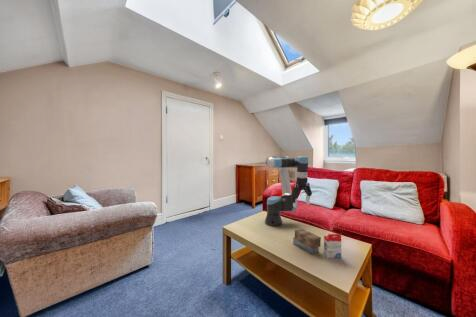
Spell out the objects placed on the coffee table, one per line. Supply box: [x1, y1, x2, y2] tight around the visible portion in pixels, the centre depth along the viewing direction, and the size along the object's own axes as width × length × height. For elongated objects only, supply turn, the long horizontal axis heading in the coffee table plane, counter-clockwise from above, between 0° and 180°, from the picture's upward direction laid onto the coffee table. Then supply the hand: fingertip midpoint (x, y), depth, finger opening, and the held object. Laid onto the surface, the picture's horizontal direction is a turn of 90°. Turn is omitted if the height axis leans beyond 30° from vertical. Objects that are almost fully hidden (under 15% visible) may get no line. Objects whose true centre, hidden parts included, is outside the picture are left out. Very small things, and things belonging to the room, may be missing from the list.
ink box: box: [323, 233, 342, 259], centre depth 111 cm, size 8×5×15 cm, turn 92°
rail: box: [292, 236, 320, 256], centre depth 120 cm, size 16×6×8 cm, turn 30°
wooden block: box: [294, 228, 322, 249], centre depth 119 cm, size 15×7×6 cm, turn 30°
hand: (301, 205), depth 133 cm, fingers open, 13 cm apart
